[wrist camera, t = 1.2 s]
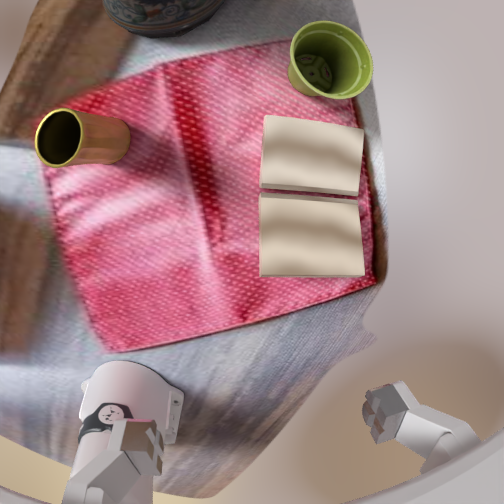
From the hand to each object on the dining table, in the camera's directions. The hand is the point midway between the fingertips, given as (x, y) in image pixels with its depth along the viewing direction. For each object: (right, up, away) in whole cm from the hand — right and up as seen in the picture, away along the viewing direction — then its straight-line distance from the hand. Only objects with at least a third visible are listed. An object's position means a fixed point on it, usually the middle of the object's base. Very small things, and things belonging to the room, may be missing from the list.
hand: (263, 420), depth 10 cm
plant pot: (+7, +29, +24) cm, 39 cm away
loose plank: (+7, +8, +28) cm, 30 cm away
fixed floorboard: (+7, +19, +28) cm, 34 cm away
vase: (-18, +20, +24) cm, 36 cm away
